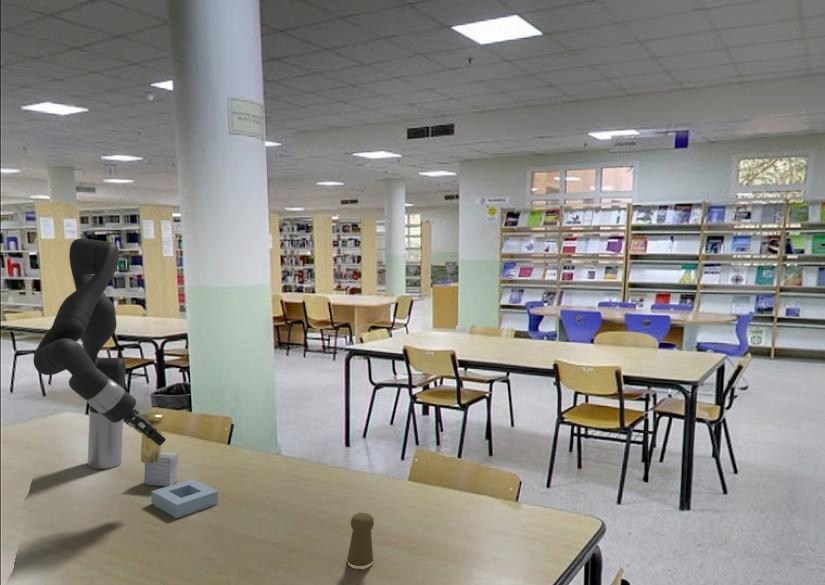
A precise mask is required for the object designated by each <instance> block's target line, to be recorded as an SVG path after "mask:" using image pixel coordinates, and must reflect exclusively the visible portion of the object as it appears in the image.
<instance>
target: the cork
mask: <svg viewBox="0 0 825 585" xmlns="http://www.w3.org/2000/svg"><path fill="white" fill-rule="evenodd" d="M351 517H352V518H351V519H350V520H351V521H350V526H351V529H352V531H351V532H352V534H351V538H350V543H349V549H348V554H347V559H346V561H347V560H348V562H349V563H350V564H352V565H355V566H365V565H368V564H370V563H371V562H372V561H373V562H374V554H373V553H374V552H373V540H372V530H373V527H374V525H375V521H374V520H375V519H374V517H373V516H372V515H371V514H369V513H368V512H357V513H355V514H354V515H353V516H351Z"/></svg>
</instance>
